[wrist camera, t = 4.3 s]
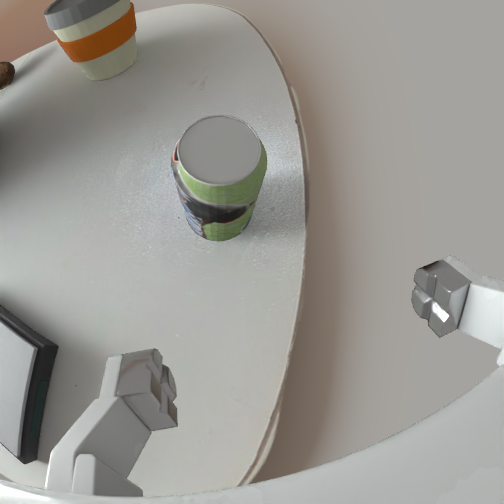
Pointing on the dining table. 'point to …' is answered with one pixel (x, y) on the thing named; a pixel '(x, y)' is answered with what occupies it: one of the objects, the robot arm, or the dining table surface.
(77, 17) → the reusable coffee cup
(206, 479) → the dining table surface
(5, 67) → the brown potato
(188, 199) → the beverage can
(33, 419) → the kitchen scale
